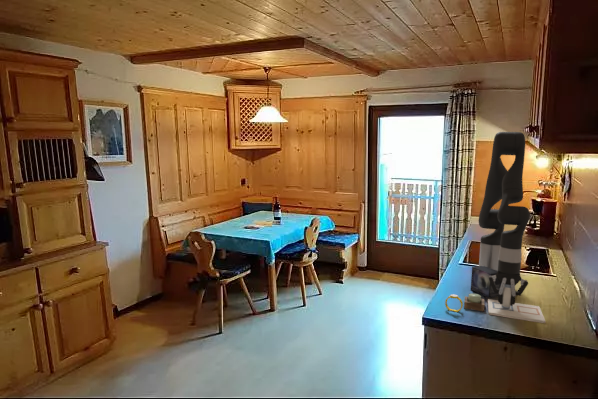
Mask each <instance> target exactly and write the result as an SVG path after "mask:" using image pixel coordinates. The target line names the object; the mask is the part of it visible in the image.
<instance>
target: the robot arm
mask: <svg viewBox="0 0 598 399" xmlns="http://www.w3.org/2000/svg"><path fill="white" fill-rule="evenodd" d="M491 151H492V152H491V159H490V160H491V161H490V166H489V170H488V174H487V179H486V184H485V188H484V197H483V201H482V204H481V208H480V211H479V215H478V225H479V227H480V228H482V229H486V230H487V229H488V230H494V231H493V232H491V233H488V234H485V235H482V236H481V237H480V246H479V257H478V258H479V260H478V266H485V267H488V268H491V269H494V270H497V273H496V275H493V276H489V281H490V283H491V286H492V288H493V291H494V292H496V293H498V297H497V300H498V302H500V304H502V299H503V289H504V286H505V284H507V285H511V290H512V294H511V304H510V306H513V305H514V304H515V303H516V297H517V296H519V297H520V296H522V294H523V293H524V291H525V290H526V288H527V286H528V285H529V281H528V280H527V279H524V278H522V277H521V268H522V267H521V266H522V256H523V255H522V254H523V253H522V246H523V237H524V234H525V230H526V228H527V226H528V223H529V220H530V218H531V213H530V210H529V209H528V207H526V206H524V205H523V206H522V205H521V206H520V205H512V204H517V203H520V202H522V201H523V199H524V187H523V184H524V183H523V174H524V166H525V163H524V162H525V152H526V137H525V134H524V133H523V132H520V131H498V132H496V133H495V136H494V138H493V143H492V150H491ZM501 156H514V157H515V158H514V161H513V163H512V164H511V165H510V167H509V169H507V168H506V167H505V165H504V163H503V161H502V158H501ZM499 202H500V205H499V208H498V209H494V208H493V207H494V206H495V205H497V203H499ZM492 208H493V209H492ZM505 225H507V226H515V228H514V229H510V230H505V231H504V229H505ZM496 278H497V279H498V281H499V282H500V287H499V289H497V288H496V285H495V283H494V282H495V279H496ZM519 282H520V286H519V288H518V290H516V285H518V284H519Z"/></svg>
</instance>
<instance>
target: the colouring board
mask: <svg viewBox="0 0 598 399" xmlns="http://www.w3.org/2000/svg"><path fill="white" fill-rule="evenodd" d="M501 306H502V304H500V302H498V299H492V298H488V299H487V308H488V310H487V311H488V315H490V316H496V317H497V316H498V317H504V318H509V319H515V320H521V321H527V322H528V321H529V322H532V323H533V322H534V323H540V324H546V322H547V321H546V319H545V316H544V315H543V314H544V313H543V312H542V309H541V307H540V305H534V304H533V305H532V304H527V303H526V304H525V303H519V302H515V304H514V305H513V306H510V309H506V308H503V307H501Z"/></svg>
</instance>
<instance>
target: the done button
mask: <svg viewBox="0 0 598 399" xmlns="http://www.w3.org/2000/svg"><path fill="white" fill-rule="evenodd" d="M467 297H468V302H474V303H481V299H482V296H481V294H479V293H469V294H468V296H467Z"/></svg>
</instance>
